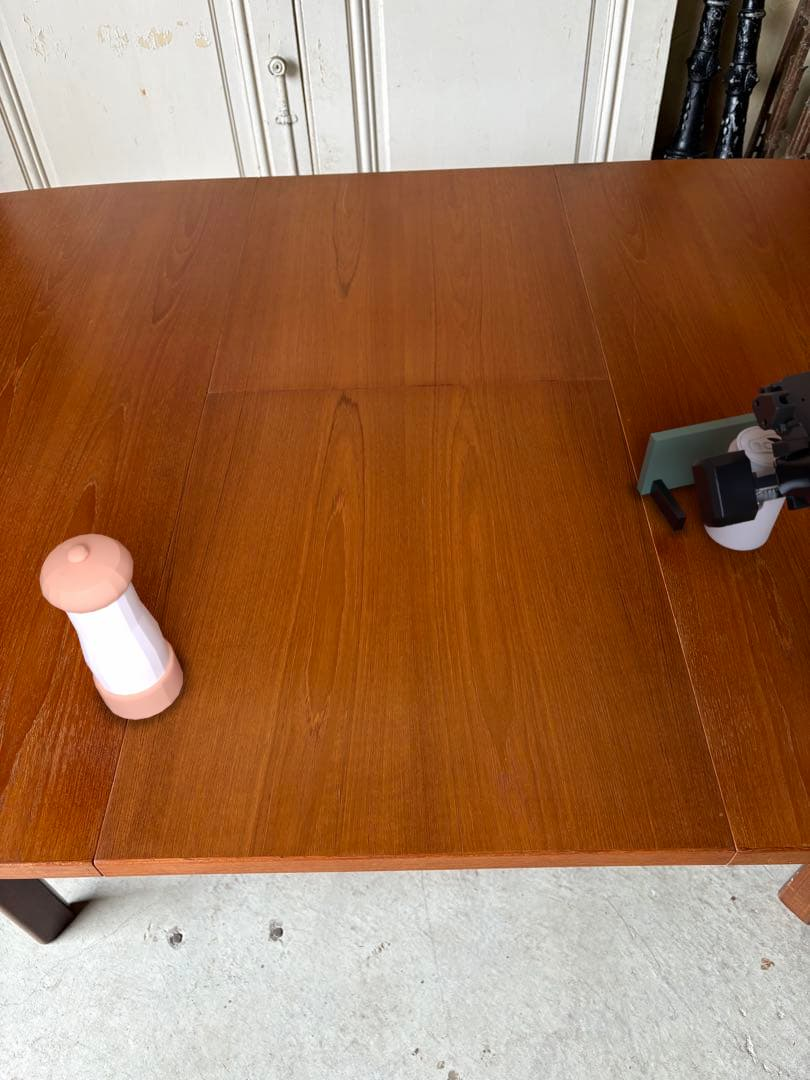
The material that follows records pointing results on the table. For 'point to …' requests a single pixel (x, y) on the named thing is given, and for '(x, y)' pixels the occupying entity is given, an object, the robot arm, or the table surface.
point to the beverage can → (761, 463)
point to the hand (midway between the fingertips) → (745, 477)
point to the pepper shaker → (112, 625)
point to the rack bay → (684, 459)
